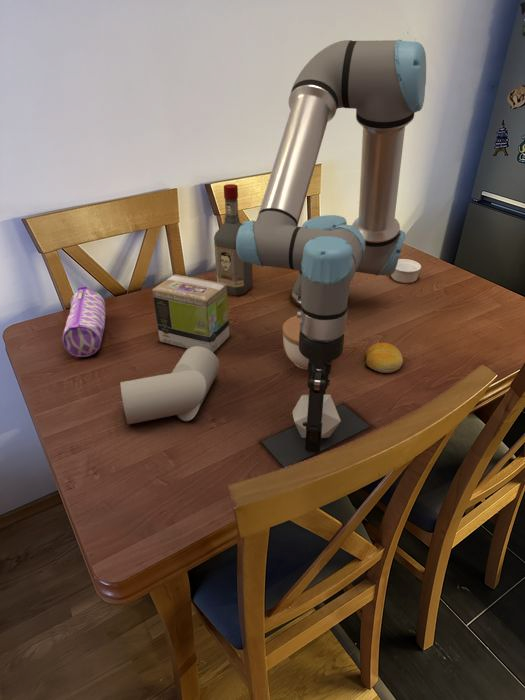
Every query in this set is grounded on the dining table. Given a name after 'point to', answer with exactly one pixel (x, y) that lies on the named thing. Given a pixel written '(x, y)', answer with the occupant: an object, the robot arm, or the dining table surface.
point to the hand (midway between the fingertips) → (314, 430)
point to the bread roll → (384, 358)
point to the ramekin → (406, 271)
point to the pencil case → (84, 323)
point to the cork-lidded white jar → (293, 342)
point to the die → (328, 416)
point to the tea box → (192, 312)
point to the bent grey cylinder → (172, 389)
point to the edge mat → (292, 445)
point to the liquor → (231, 248)
